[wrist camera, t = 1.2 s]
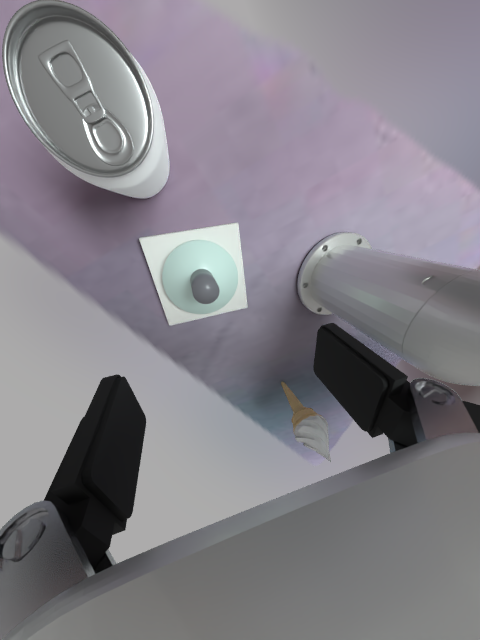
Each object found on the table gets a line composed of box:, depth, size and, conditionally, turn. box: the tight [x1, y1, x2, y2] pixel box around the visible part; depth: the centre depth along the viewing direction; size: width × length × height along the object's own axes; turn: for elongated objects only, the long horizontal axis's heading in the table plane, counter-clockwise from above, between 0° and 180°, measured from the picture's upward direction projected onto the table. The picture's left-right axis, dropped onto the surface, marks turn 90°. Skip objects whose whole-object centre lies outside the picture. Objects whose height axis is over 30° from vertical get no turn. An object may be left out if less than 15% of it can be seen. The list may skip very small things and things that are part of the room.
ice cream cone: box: [281, 382, 331, 462], centre depth 34 cm, size 6×6×15 cm
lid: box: [162, 240, 238, 314], centre depth 23 cm, size 9×9×5 cm
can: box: [2, 0, 169, 198], centre depth 14 cm, size 6×6×12 cm
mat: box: [139, 223, 248, 326], centre depth 26 cm, size 11×11×1 cm
